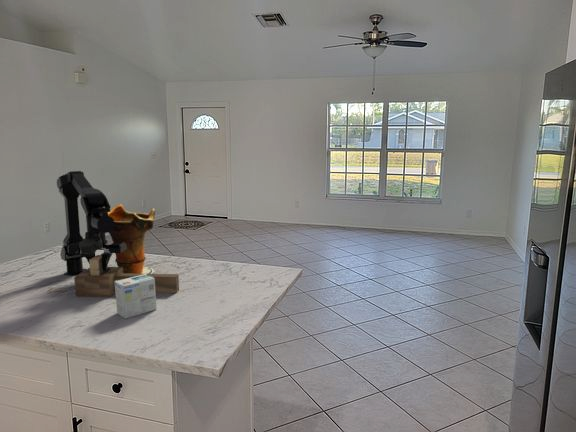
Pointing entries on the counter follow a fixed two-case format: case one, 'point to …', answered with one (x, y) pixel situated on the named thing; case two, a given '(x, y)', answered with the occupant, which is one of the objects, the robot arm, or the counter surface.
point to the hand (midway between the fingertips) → (99, 270)
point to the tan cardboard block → (97, 266)
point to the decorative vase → (131, 238)
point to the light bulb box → (135, 295)
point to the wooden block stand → (105, 283)
